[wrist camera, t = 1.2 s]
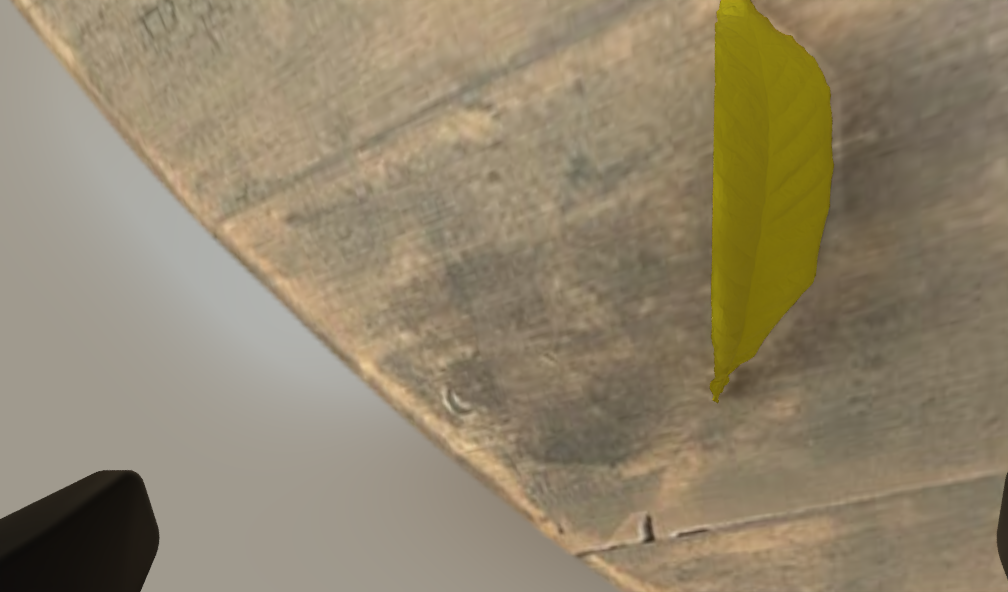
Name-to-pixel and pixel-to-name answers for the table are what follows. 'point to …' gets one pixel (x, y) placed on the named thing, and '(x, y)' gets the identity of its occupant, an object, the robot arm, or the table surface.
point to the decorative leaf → (763, 181)
